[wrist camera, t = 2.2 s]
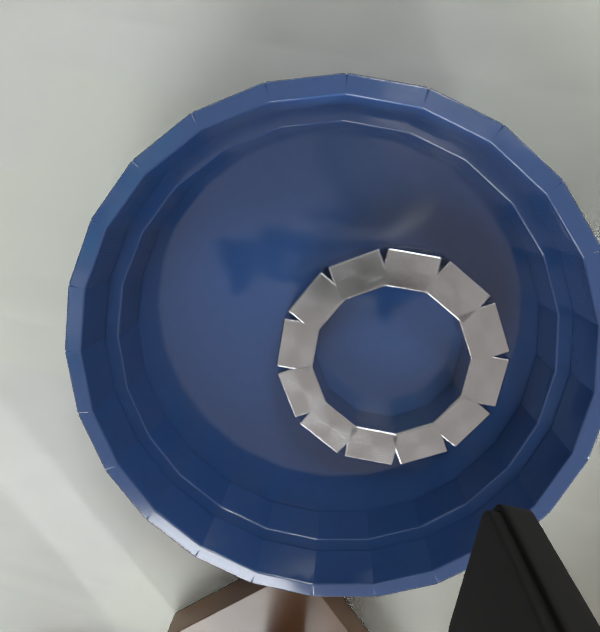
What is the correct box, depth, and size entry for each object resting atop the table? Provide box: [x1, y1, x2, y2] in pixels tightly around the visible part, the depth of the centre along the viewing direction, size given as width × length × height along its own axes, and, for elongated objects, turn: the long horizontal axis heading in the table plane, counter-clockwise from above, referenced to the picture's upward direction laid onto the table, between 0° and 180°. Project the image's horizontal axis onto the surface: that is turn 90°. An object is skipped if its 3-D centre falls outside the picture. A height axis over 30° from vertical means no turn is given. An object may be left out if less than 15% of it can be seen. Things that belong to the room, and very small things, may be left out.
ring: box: [277, 243, 510, 465], centre depth 19 cm, size 8×8×2 cm
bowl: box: [65, 73, 600, 597], centre depth 19 cm, size 18×18×4 cm
